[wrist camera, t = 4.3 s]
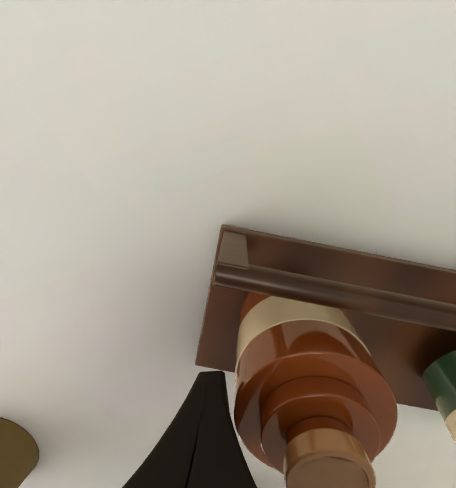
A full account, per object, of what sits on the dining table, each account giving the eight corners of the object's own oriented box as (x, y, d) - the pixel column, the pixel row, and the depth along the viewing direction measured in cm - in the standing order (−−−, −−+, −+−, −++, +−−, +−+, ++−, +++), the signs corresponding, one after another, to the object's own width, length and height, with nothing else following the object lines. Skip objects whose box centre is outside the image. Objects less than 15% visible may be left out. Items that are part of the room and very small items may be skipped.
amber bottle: (338, 359, 16) (428, 553, 8) (242, 362, 17) (238, 548, 9) (339, 269, 15) (451, 400, 7) (234, 276, 15) (218, 404, 7)
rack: (565, 291, 16) (753, 365, 10) (492, 412, 18) (609, 527, 13) (221, 224, 15) (211, 259, 10) (196, 356, 18) (176, 447, 12)
